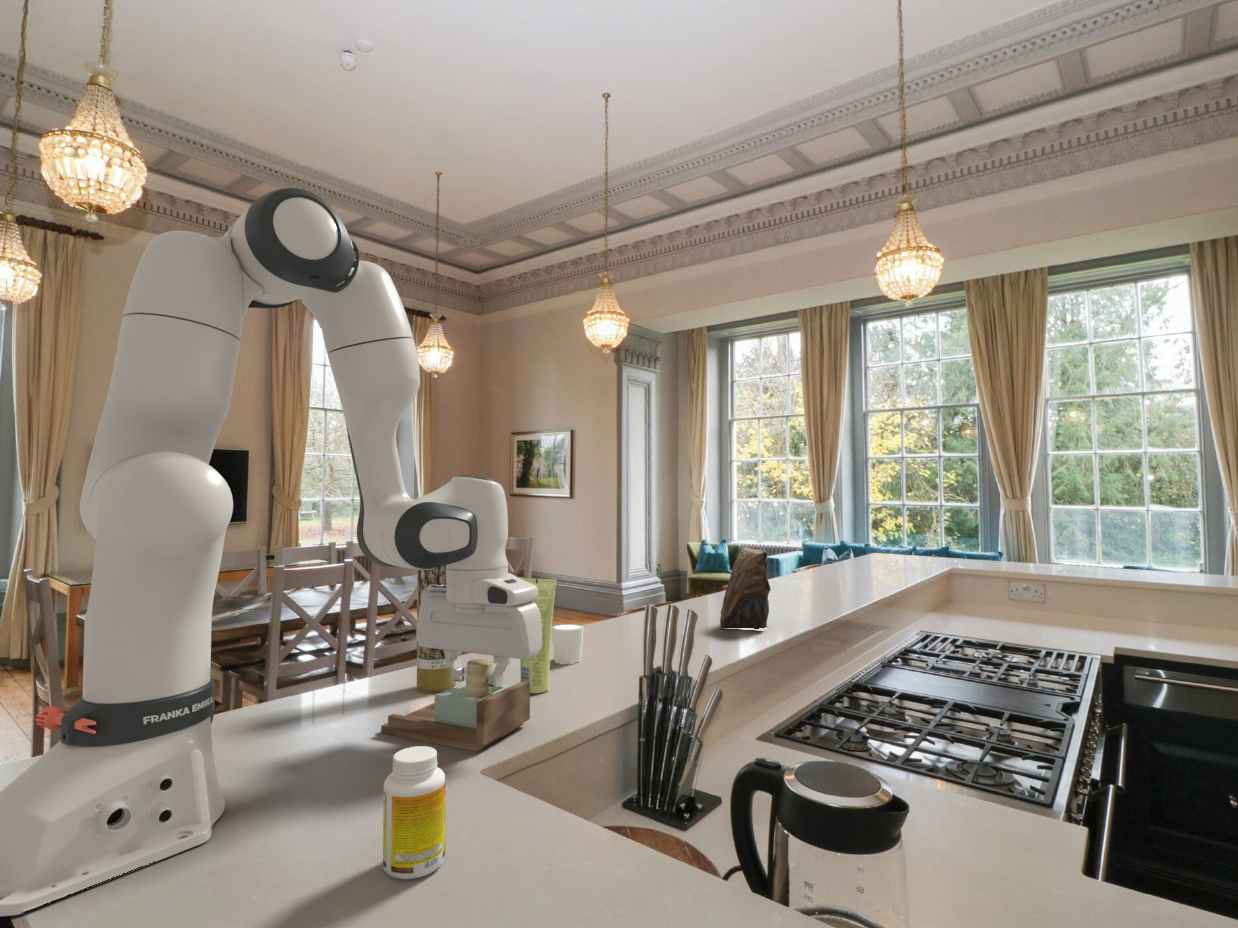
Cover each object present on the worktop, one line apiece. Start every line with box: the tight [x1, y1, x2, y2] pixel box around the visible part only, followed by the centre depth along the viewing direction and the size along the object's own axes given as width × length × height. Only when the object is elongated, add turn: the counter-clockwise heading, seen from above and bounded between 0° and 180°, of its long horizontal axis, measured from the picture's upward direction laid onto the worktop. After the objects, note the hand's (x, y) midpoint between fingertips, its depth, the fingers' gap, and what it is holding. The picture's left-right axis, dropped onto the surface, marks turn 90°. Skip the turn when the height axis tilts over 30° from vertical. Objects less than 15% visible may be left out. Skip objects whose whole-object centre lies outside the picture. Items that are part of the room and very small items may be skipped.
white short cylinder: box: [551, 623, 585, 665], centre depth 136 cm, size 7×7×7 cm
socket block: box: [434, 681, 514, 729], centre depth 96 cm, size 8×8×5 cm
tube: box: [519, 577, 558, 694], centre depth 116 cm, size 6×5×20 cm
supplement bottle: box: [382, 745, 446, 880], centre depth 62 cm, size 6×6×10 cm
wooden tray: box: [380, 680, 531, 752], centre depth 97 cm, size 11×18×6 cm, turn 65°
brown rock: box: [719, 546, 771, 629], centre depth 169 cm, size 13×13×20 cm
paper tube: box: [416, 565, 457, 693], centre depth 118 cm, size 7×7×25 cm
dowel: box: [465, 658, 493, 698], centre depth 96 cm, size 4×4×9 cm
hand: (476, 683), depth 96 cm, fingers open, 5 cm apart
